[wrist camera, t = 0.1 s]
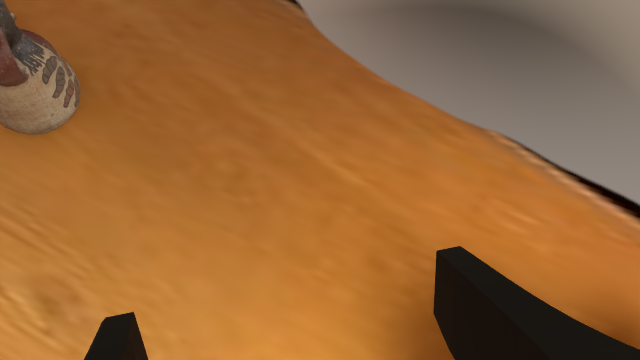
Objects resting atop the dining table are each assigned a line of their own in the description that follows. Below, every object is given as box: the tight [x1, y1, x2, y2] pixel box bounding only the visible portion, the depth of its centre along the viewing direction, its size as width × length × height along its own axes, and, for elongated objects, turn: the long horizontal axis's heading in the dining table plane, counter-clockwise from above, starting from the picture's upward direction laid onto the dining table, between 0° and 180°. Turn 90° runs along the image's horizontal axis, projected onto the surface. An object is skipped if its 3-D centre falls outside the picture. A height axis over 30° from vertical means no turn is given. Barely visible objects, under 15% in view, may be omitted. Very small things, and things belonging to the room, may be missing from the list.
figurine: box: [0, 0, 80, 135], centre depth 43 cm, size 7×7×12 cm
